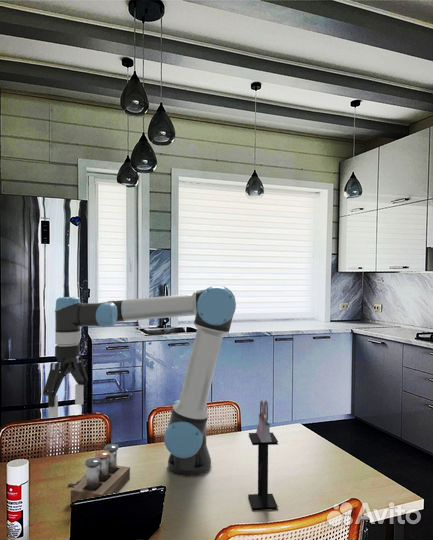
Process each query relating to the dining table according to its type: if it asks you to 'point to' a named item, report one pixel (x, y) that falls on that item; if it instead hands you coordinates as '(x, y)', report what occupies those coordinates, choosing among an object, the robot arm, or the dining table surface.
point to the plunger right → (112, 457)
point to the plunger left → (92, 473)
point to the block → (102, 485)
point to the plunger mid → (103, 464)
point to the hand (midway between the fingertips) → (66, 410)
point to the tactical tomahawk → (77, 481)
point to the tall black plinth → (263, 462)
